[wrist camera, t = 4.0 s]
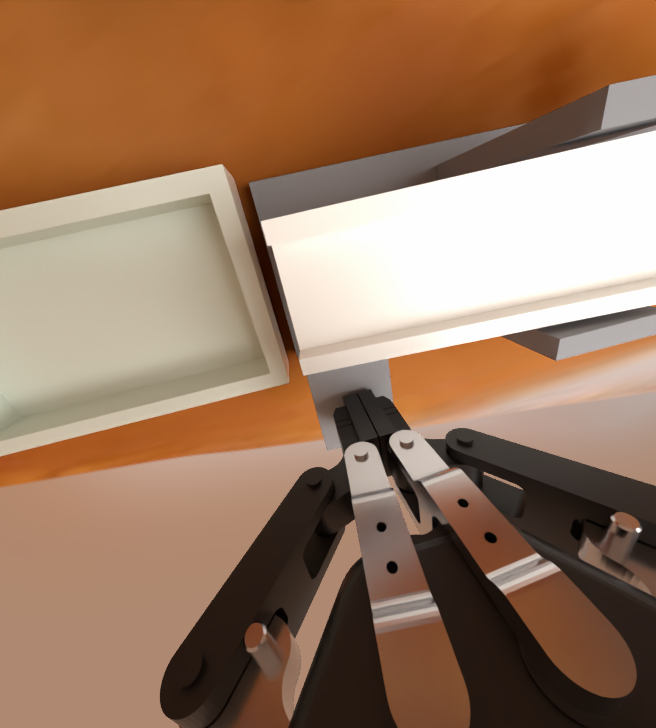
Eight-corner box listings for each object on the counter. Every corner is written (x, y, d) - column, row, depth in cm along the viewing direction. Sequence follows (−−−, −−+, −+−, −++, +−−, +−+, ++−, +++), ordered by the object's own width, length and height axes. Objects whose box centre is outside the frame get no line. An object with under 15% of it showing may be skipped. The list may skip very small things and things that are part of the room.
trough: (275, 223, 13) (251, 219, 8) (856, 90, 12) (1246, -10, 7) (324, 417, 18) (329, 487, 13) (732, 338, 17) (904, 382, 12)
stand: (250, 185, 16) (205, 111, 7) (665, 96, 17) (1119, -71, 8) (296, 352, 21) (309, 447, 11) (618, 272, 22) (866, 298, 13)
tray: (-130, 256, 15) (-242, 261, 12) (234, 178, 16) (222, 164, 13) (23, 427, 20) (-25, 462, 17) (288, 361, 21) (289, 382, 18)
